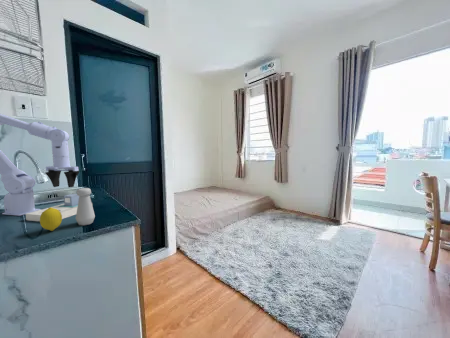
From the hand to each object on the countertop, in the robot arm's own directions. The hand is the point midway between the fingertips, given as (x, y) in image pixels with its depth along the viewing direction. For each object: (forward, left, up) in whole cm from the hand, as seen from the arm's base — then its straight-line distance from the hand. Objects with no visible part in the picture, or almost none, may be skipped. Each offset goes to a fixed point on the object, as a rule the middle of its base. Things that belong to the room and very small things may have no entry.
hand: (63, 186), depth 90 cm
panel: (+6, -6, -10) cm, 13 cm away
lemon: (+20, -21, -10) cm, 31 cm away
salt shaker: (+25, -13, -10) cm, 30 cm away
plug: (+6, -1, -10) cm, 12 cm away
